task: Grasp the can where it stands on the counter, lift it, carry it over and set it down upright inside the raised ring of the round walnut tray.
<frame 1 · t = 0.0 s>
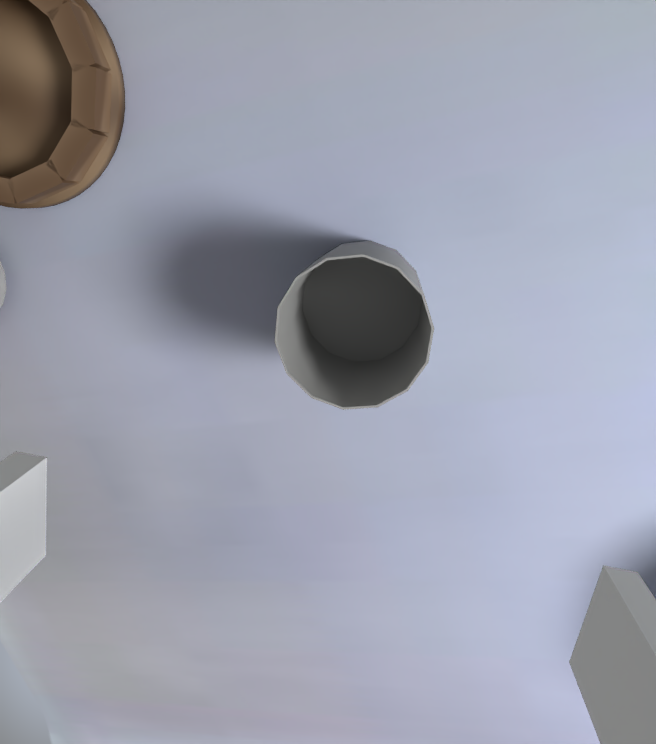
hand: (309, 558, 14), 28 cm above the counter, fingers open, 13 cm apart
cup: (362, 302, 40), on the counter
tray: (15, 90, 38), on the counter
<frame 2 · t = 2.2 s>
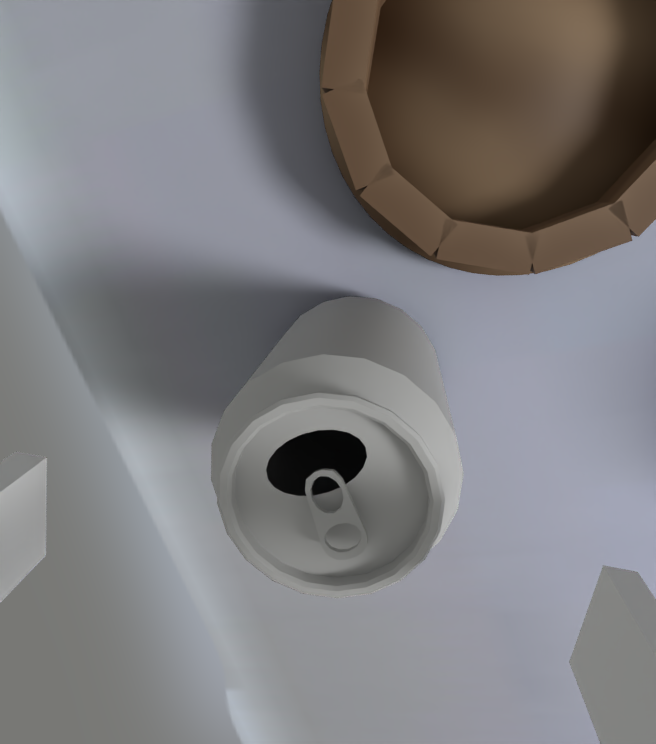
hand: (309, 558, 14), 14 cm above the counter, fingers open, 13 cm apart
can: (356, 371, 27), on the counter
tray: (513, 78, 22), on the counter
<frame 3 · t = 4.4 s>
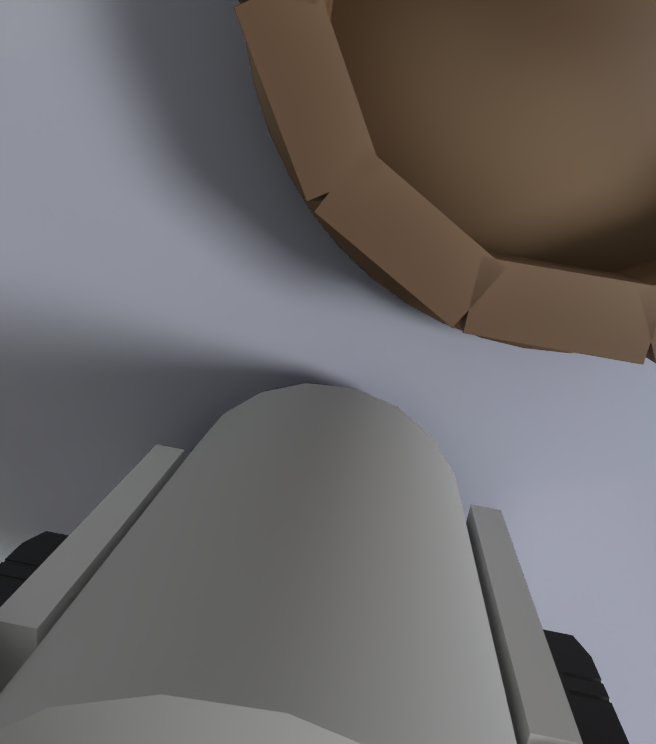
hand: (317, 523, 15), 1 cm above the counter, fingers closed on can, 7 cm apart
can: (323, 497, 16), on the counter, touching gripper
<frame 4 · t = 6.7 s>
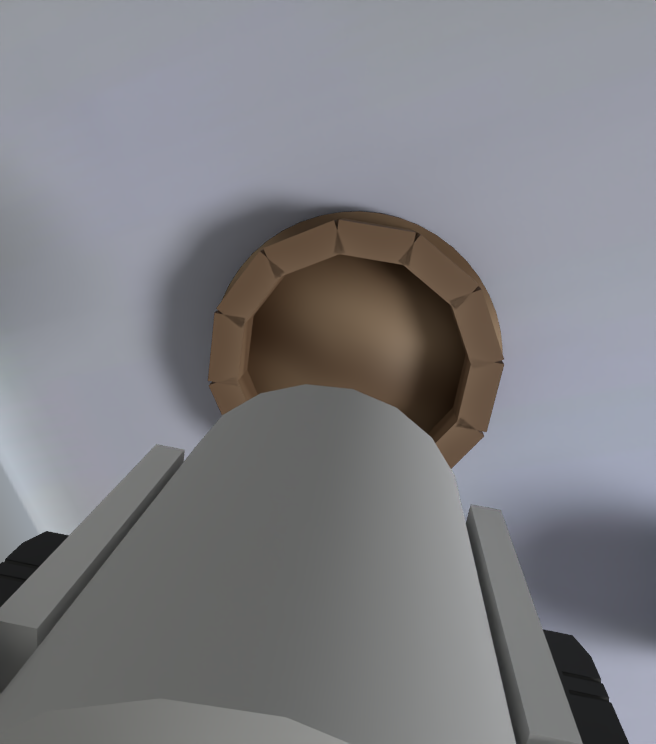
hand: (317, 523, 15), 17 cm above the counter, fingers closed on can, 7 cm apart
can: (323, 498, 16), point 15 cm above the counter, touching gripper
tray: (354, 356, 31), on the counter
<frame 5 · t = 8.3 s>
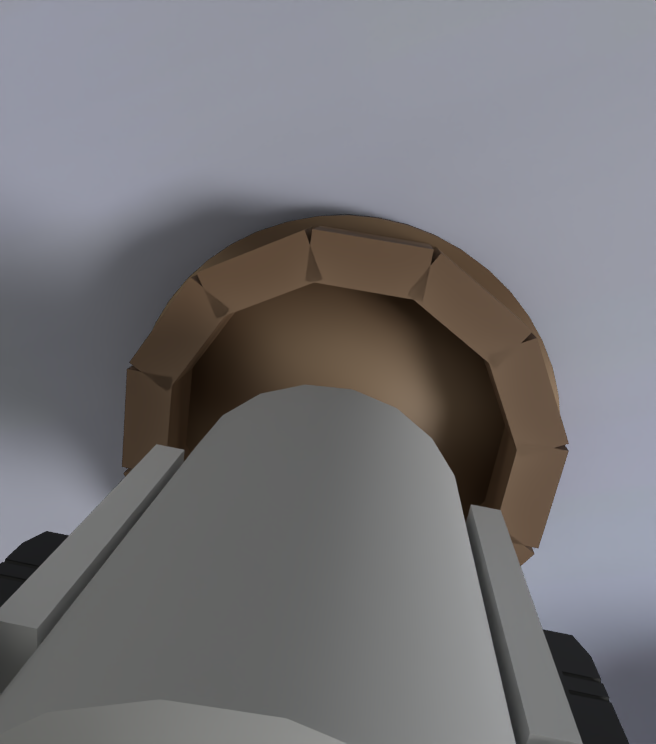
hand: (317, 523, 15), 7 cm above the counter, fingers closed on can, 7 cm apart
can: (323, 498, 16), point 5 cm above the counter, touching gripper
tray: (342, 424, 21), on the counter
when the fingers open (5 cm above the counter, at t = 9.5 s): can drops 3 cm, resting on tray.
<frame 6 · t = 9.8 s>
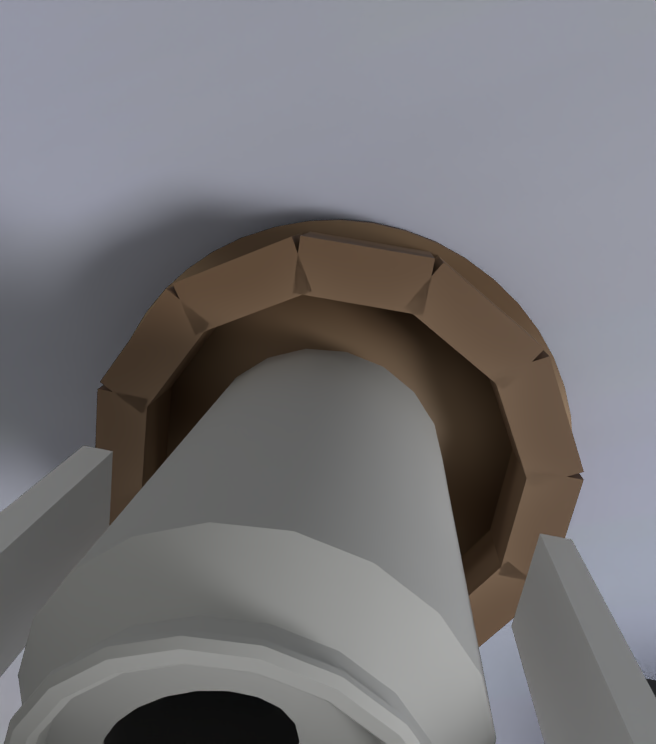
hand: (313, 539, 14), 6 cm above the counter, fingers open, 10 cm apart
can: (323, 450, 19), point 1 cm above the counter, touching tray
tray: (335, 446, 20), on the counter
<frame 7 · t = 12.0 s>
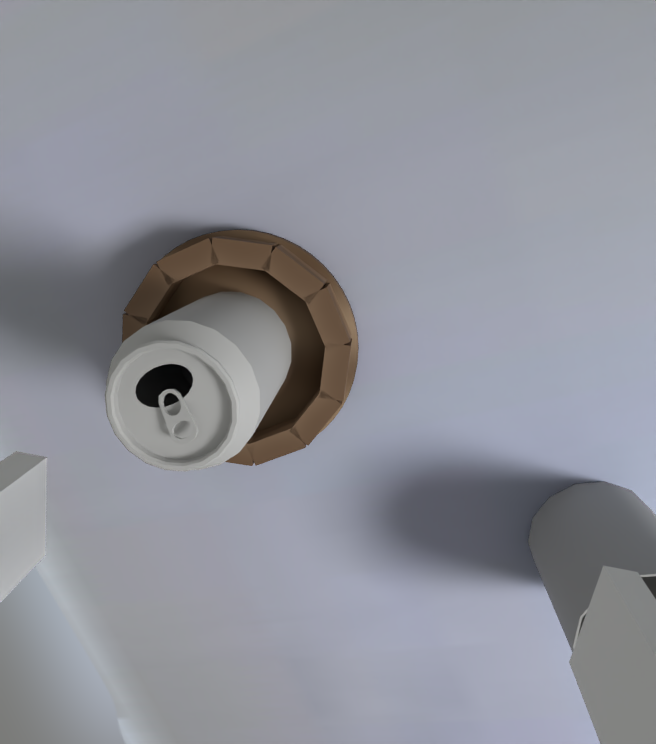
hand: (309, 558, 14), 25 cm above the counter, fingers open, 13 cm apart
can: (237, 346, 37), point 1 cm above the counter, touching tray
cup: (590, 535, 40), on the counter
tray: (244, 346, 38), on the counter
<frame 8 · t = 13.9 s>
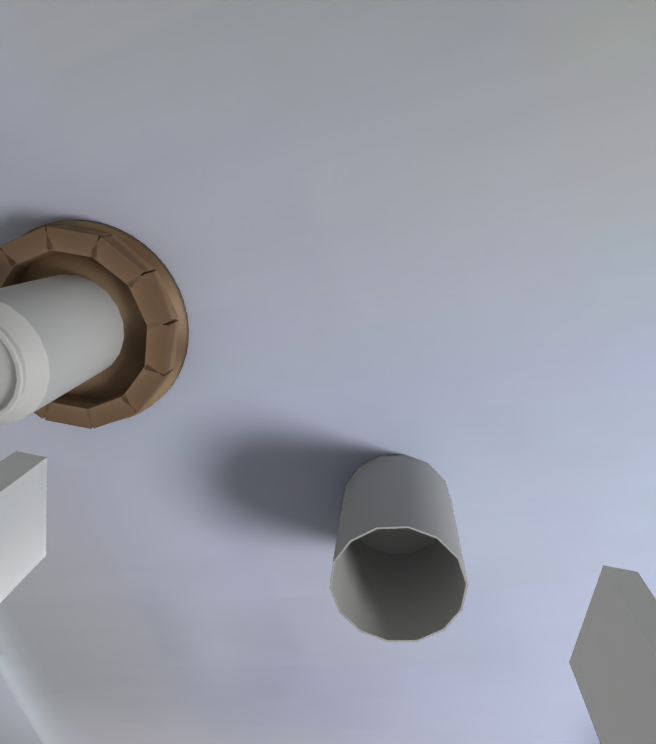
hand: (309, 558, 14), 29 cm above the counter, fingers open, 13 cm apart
can: (81, 323, 42), point 1 cm above the counter, touching tray
cup: (396, 502, 45), on the counter
tray: (91, 323, 43), on the counter
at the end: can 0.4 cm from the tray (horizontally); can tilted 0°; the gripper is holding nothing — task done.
